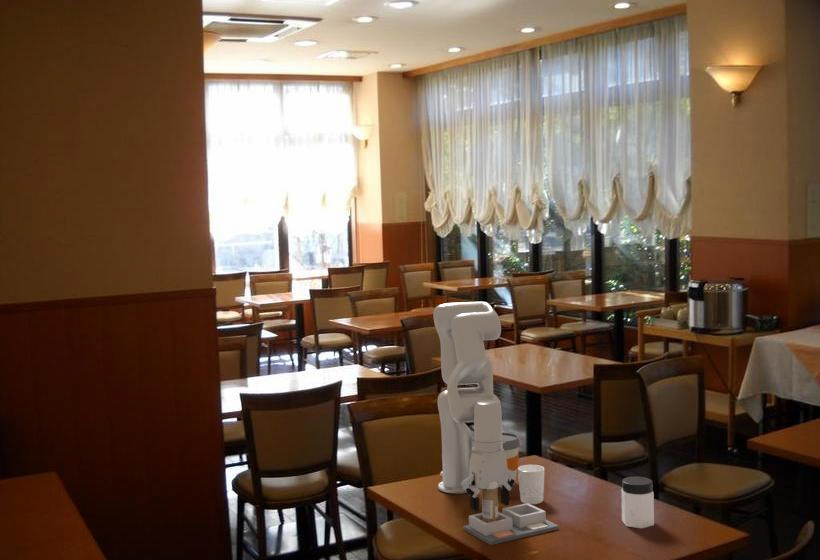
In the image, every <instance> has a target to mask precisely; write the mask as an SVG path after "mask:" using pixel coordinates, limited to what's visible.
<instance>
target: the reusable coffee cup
mask: <svg viewBox="0 0 820 560" xmlns="http://www.w3.org/2000/svg"><path fill="white" fill-rule="evenodd" d="M502 439H505V440H506V443H505V444H503V447H502V449H504V451H505V455H506V460H507V468H508V469H509V470H511V471H514V472H516V473H517V470H518V467H519V461H520V460H519V458H520V453H519V448H520V446H521V445H520V439H519V435H517V434H515V433H511V432H505V431H504V432H503V431H502ZM509 478H510V475H509V474H508V479H509ZM514 481H515V482H514V484H513V485H512V486H514V485H515V484H516V479H515V480H514ZM498 488H502V486H498Z"/></svg>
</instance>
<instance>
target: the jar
mask: <svg viewBox="0 0 820 560" xmlns="http://www.w3.org/2000/svg"><path fill="white" fill-rule="evenodd" d="M621 481H622V483H621V484H622V485H621V486H622V487H621V491H620V492H621V494H620V495H621V521H622V523H623V524H624V525H625V527H630V528H634V529H635V528H636V529H646V528H649V527H652V526H655V505H654V503H655V502H654V501H655V500H654V499H655V498H654V497H655V494H654V490H653V480H652V479H650V478H648V477H644V476H628V477H624V478H623V479H622V480H621Z"/></svg>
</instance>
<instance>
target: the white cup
mask: <svg viewBox="0 0 820 560" xmlns="http://www.w3.org/2000/svg"><path fill="white" fill-rule="evenodd" d="M517 477H518V487H519V488H518V489H519V499H520V501H521V503H522V504H526V503H529V504H531V505H538V504H541V503H543V501H544V493H545V467H544V466H542V465H539V464H523V465H519V466H518V468H517Z"/></svg>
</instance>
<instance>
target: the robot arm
mask: <svg viewBox="0 0 820 560" xmlns="http://www.w3.org/2000/svg"><path fill="white" fill-rule="evenodd" d="M433 323H434V327H435V330H436V333H437V335H438V338H439V342H440V363H441V364H440V365H441V368H440V370H441V377H442V380H443V382H444V383H445V384H446V385H447V386H446V387H447V389H445V390H443V391H442V392H440V393H439V395H438V396H437V409H438V414H439V415H438V416H439V421H440V431H441V459H442V471H440V472H439V475H440V476H441V477H442V481H441V482H438V486H437V487H438V488H437V489H438V490H439V491H441V492H443V493H448V494H455V495H456V494H467V495H468V496H469V506H470V509H471V511H474V512H476V513H478V512H479V511H480V499H479V497H478V495H479V493H480V492H481V491H482V489H487V488H489V485H490V483H492V482H497V484H498V486H502V487H500V503H501V504H502V505H505V506H510V498H511V497H510V491H511V490H512V487H513V486H514V485H515V484H514V482H515V483H516V478H517V477H518V472H517V471H516V472H514V471H511V470H509V469H508V468H507V460H506V455H505V451H504V449H502V447H503V444H505V443H506V440H505V439H502V432H503V424H502V423H503V421H502V418H503V417H502V415H503V413H502V403H501V400H500V399H499V397H498V396H497V395H496V394H494V372H493V371H494V370H493V364H492V361H491V358H490V357H489V355H487V354H486V353H487V352H486V348H485V347H486V346H485V343H484V341H495V340H498V339H499V338H500V336H501V333H502V323H501V321H500V317H499V315H498V313H497V312H496V310H495V309H494V308H493V307H492V306H491V304H490V303H488V302H487V301H467V302H465V301H464V302H463V301H461V302H457V301H456V302H446V303H442V304H438V305H437V306H436V307H435V308H434V310H433ZM464 385H477V387H461V388H458V386H464ZM467 423H473V429H474V430H473V431H474V434H473V433H472V431H471V429H470V427H469V426H468V425H467ZM472 434H473V435H474V437H473V435H472ZM473 438H474V450H473ZM508 474H509V475H510V478H509V479H508ZM514 480H515V481H514ZM513 484H514V485H513Z"/></svg>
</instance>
